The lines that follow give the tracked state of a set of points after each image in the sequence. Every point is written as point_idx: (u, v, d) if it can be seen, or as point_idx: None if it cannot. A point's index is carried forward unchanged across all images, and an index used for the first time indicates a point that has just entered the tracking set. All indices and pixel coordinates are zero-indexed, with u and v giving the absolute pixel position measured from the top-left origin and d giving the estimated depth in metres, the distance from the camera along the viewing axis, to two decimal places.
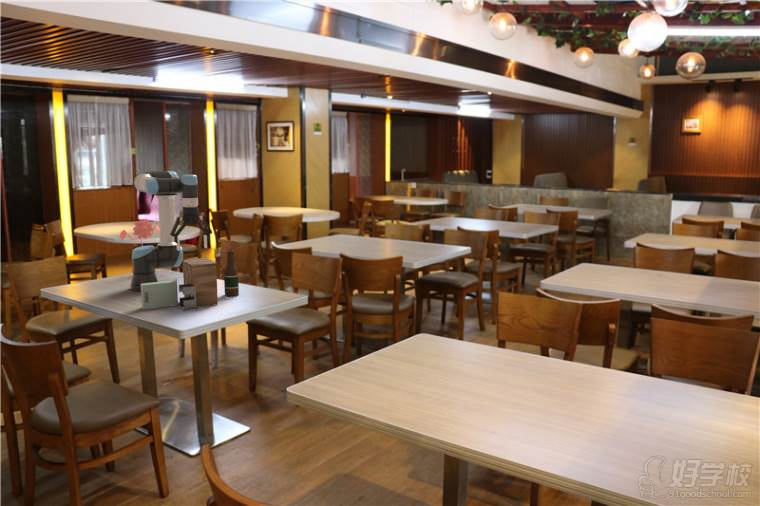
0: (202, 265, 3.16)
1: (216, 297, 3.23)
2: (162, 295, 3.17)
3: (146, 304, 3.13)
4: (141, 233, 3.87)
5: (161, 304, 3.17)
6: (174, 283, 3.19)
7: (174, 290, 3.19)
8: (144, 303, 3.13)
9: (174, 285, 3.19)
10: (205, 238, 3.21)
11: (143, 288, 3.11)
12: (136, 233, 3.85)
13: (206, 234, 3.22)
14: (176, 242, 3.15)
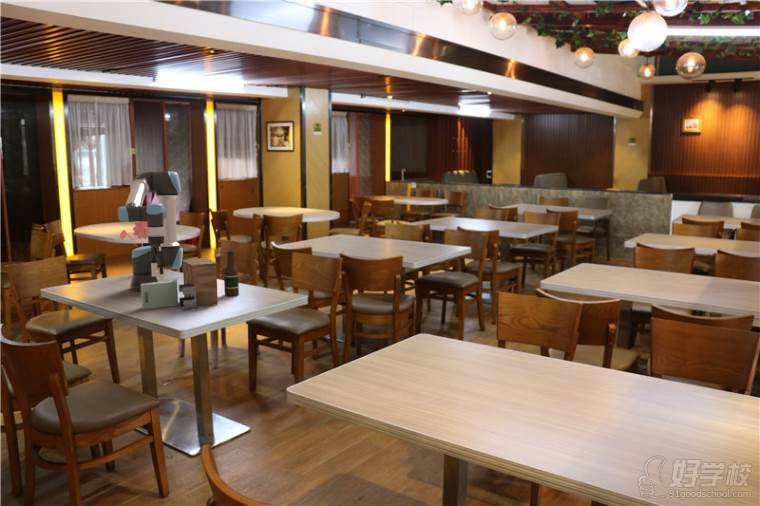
0: (202, 265, 3.16)
1: (216, 297, 3.23)
2: (162, 295, 3.17)
3: (146, 304, 3.13)
4: (141, 233, 3.87)
5: (161, 304, 3.17)
6: (174, 283, 3.19)
7: (174, 290, 3.19)
8: (144, 303, 3.13)
9: (174, 285, 3.19)
10: (157, 270, 3.09)
11: (143, 288, 3.11)
12: (136, 233, 3.85)
13: None
14: None
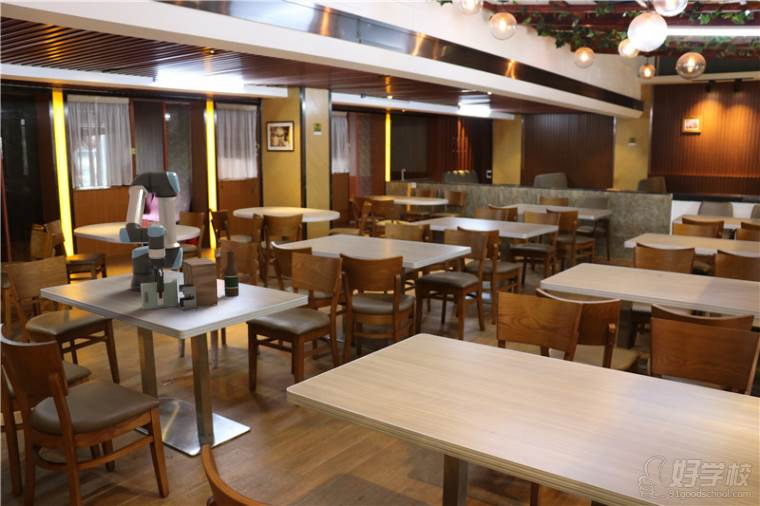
0: (202, 265, 3.16)
1: (216, 297, 3.23)
2: None
3: (146, 304, 3.13)
4: None
5: None
6: (174, 283, 3.19)
7: (174, 290, 3.19)
8: (144, 303, 3.13)
9: (174, 285, 3.19)
10: (157, 295, 3.15)
11: (143, 288, 3.11)
12: None
13: None
14: None
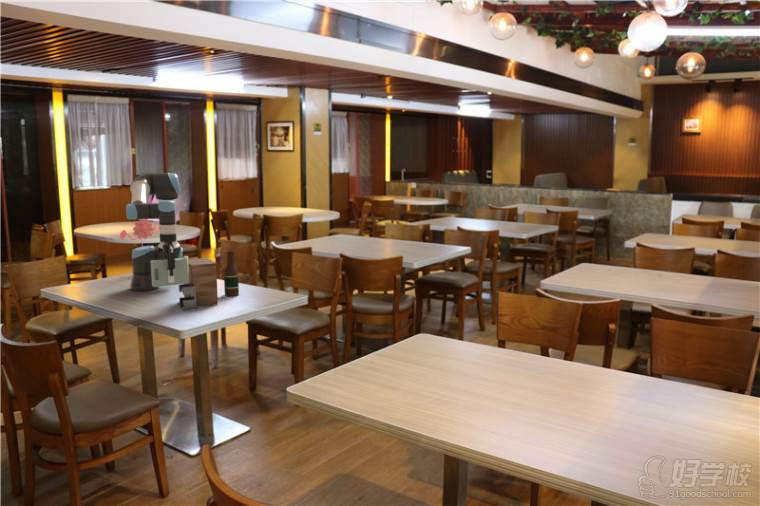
0: (202, 265, 3.16)
1: (216, 297, 3.23)
2: None
3: (156, 281, 3.03)
4: (141, 233, 3.87)
5: None
6: (185, 260, 3.09)
7: (185, 267, 3.10)
8: (154, 280, 3.03)
9: (185, 262, 3.09)
10: None
11: (153, 265, 3.02)
12: (136, 233, 3.85)
13: None
14: None
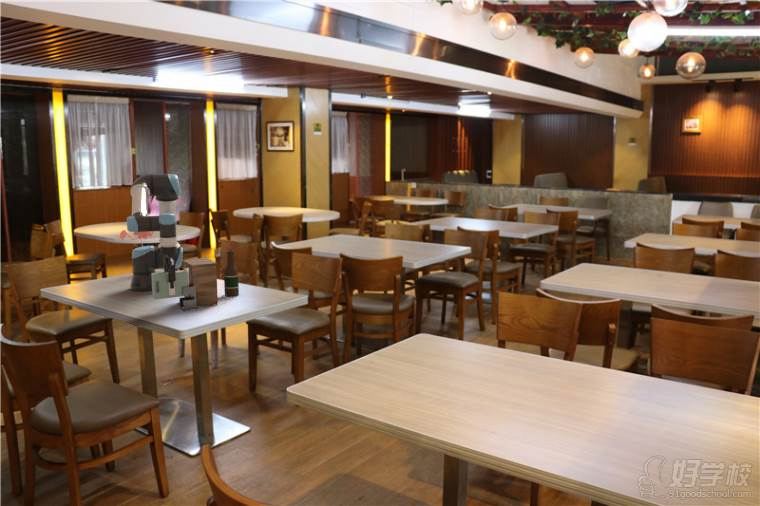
0: (202, 265, 3.16)
1: (216, 297, 3.23)
2: None
3: (157, 294, 3.04)
4: (141, 233, 3.87)
5: None
6: (186, 273, 3.10)
7: (186, 280, 3.11)
8: (155, 293, 3.04)
9: (186, 275, 3.10)
10: (168, 284, 3.06)
11: (154, 277, 3.03)
12: (136, 233, 3.85)
13: (169, 280, 3.06)
14: None
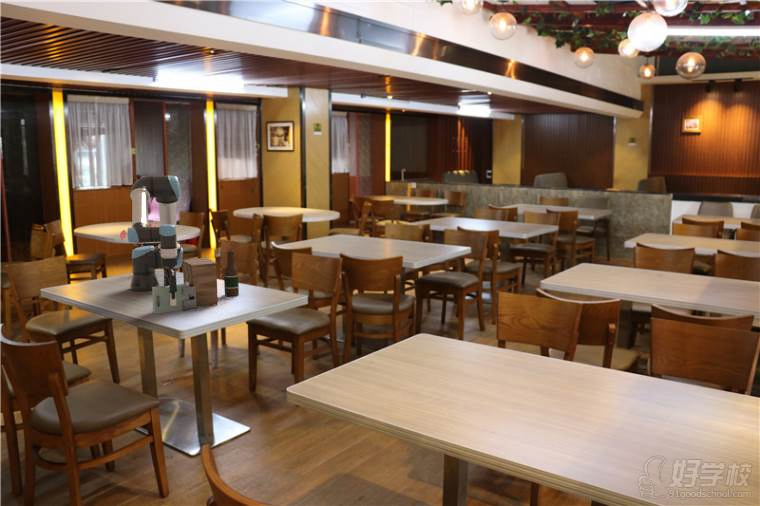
0: (202, 265, 3.16)
1: (216, 297, 3.23)
2: None
3: (158, 308, 3.06)
4: None
5: (173, 308, 3.09)
6: (186, 286, 3.11)
7: (186, 294, 3.12)
8: (156, 307, 3.05)
9: None
10: None
11: (155, 292, 3.04)
12: None
13: None
14: None
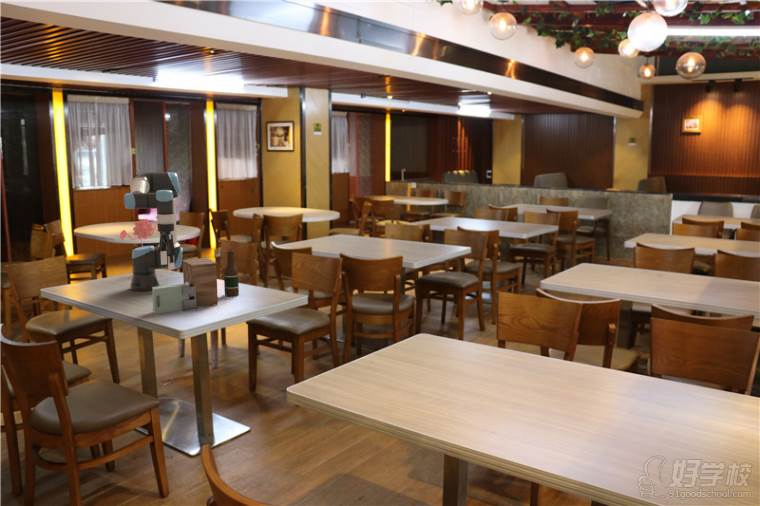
0: (202, 265, 3.16)
1: (216, 297, 3.23)
2: (174, 299, 3.09)
3: (158, 308, 3.06)
4: (141, 233, 3.87)
5: (173, 308, 3.09)
6: (186, 286, 3.11)
7: (186, 294, 3.12)
8: (156, 307, 3.05)
9: None
10: (167, 259, 3.02)
11: (155, 292, 3.04)
12: (136, 233, 3.85)
13: None
14: None
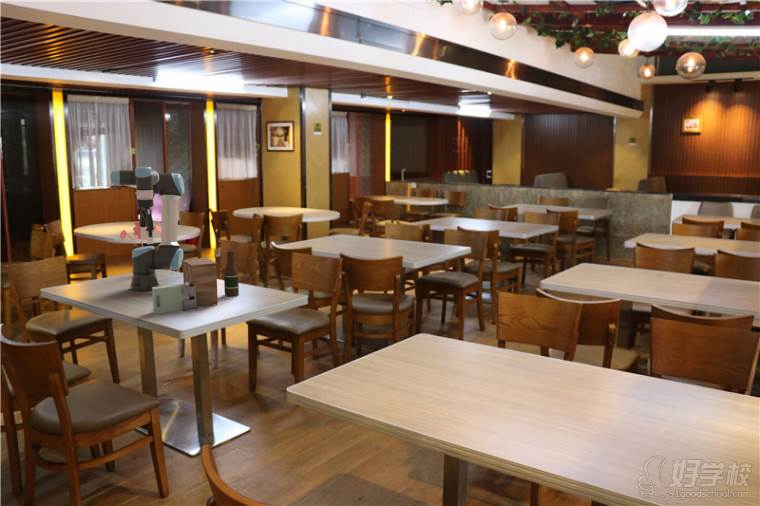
0: (202, 265, 3.16)
1: (216, 297, 3.23)
2: (174, 299, 3.09)
3: (158, 308, 3.06)
4: None
5: (173, 308, 3.09)
6: (186, 286, 3.11)
7: (186, 294, 3.12)
8: (156, 307, 3.05)
9: None
10: (146, 233, 3.10)
11: (155, 292, 3.04)
12: (136, 233, 3.85)
13: None
14: None
